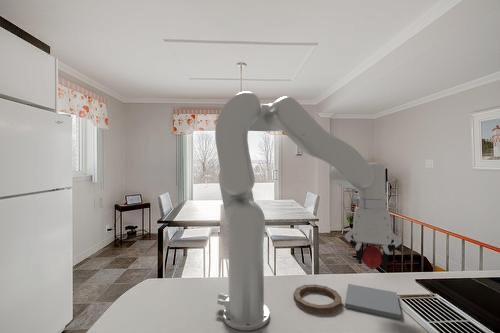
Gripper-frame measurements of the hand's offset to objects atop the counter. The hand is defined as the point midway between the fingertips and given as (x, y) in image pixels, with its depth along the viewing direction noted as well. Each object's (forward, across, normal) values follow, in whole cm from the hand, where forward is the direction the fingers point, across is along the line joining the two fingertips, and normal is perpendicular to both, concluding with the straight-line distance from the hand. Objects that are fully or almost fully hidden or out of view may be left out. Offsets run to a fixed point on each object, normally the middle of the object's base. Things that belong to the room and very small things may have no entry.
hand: (372, 263), depth 76 cm
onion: (+2, 0, 0) cm, 2 cm away
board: (+11, 0, 0) cm, 11 cm away
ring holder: (+11, -15, -6) cm, 20 cm away
